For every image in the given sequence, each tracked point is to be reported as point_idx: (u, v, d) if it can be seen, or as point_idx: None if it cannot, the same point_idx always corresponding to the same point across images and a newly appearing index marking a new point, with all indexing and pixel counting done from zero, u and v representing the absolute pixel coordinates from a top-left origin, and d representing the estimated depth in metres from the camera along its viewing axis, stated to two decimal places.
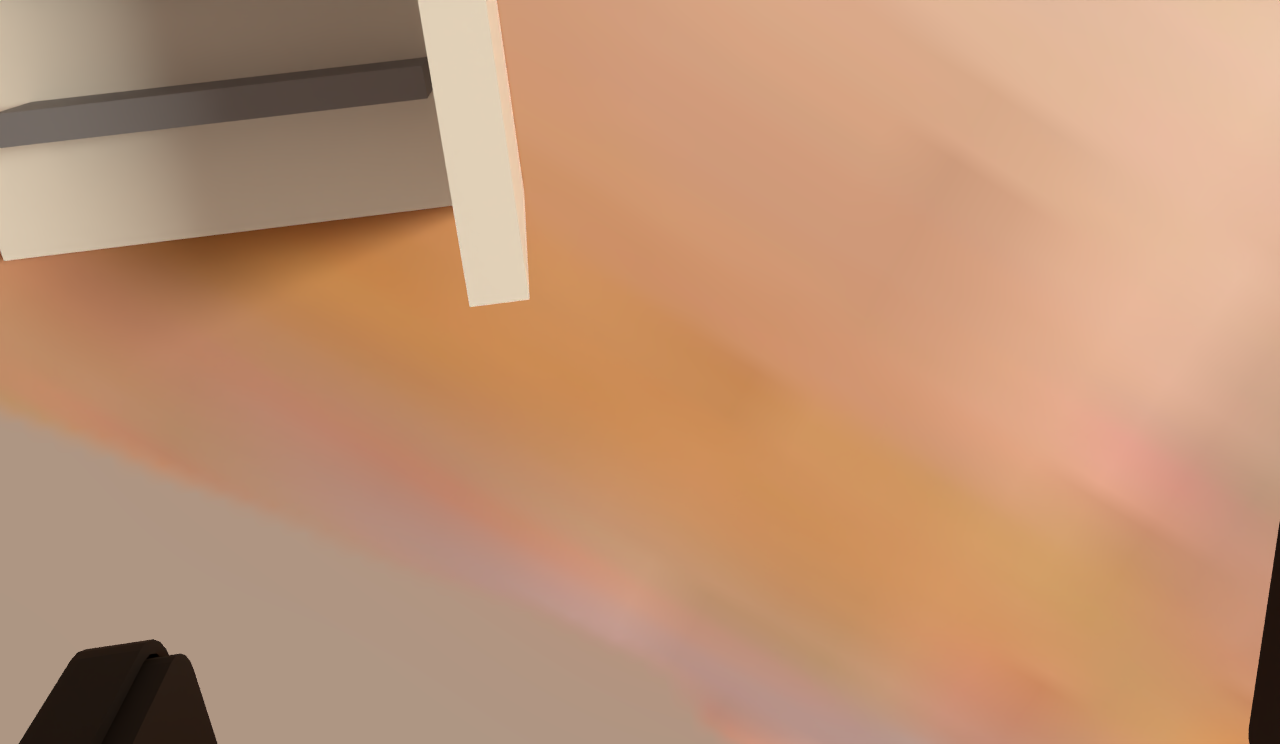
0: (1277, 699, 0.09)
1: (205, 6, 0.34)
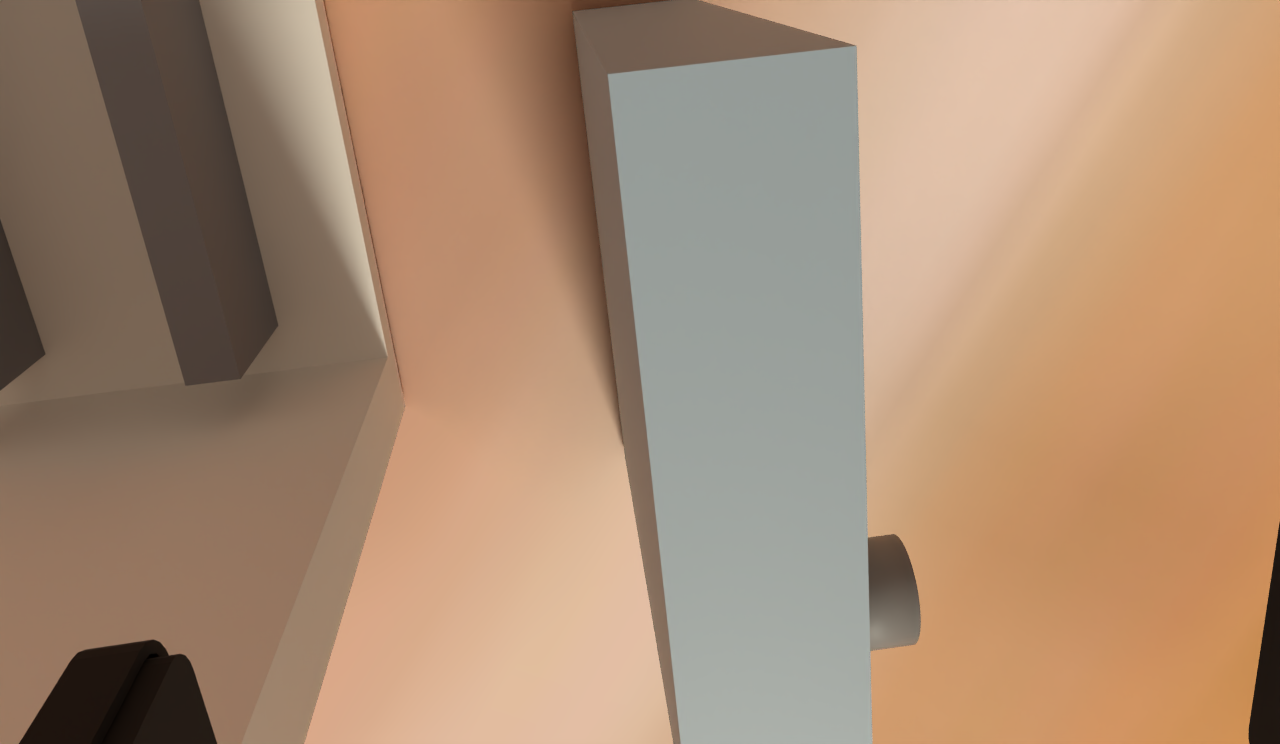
0: (1277, 699, 0.09)
1: None
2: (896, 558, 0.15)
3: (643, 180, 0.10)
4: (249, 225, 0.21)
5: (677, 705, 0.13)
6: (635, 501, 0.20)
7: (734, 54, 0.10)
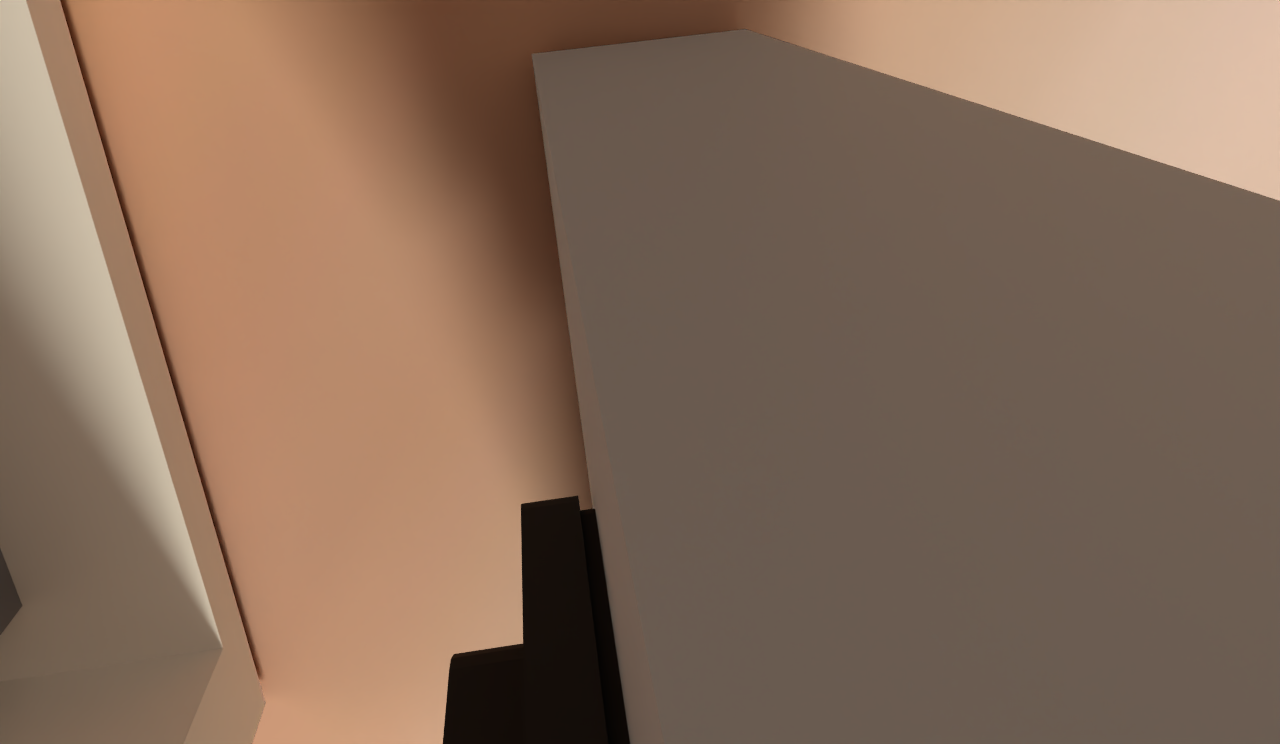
0: None
1: None
2: None
3: None
4: None
5: None
6: None
7: None
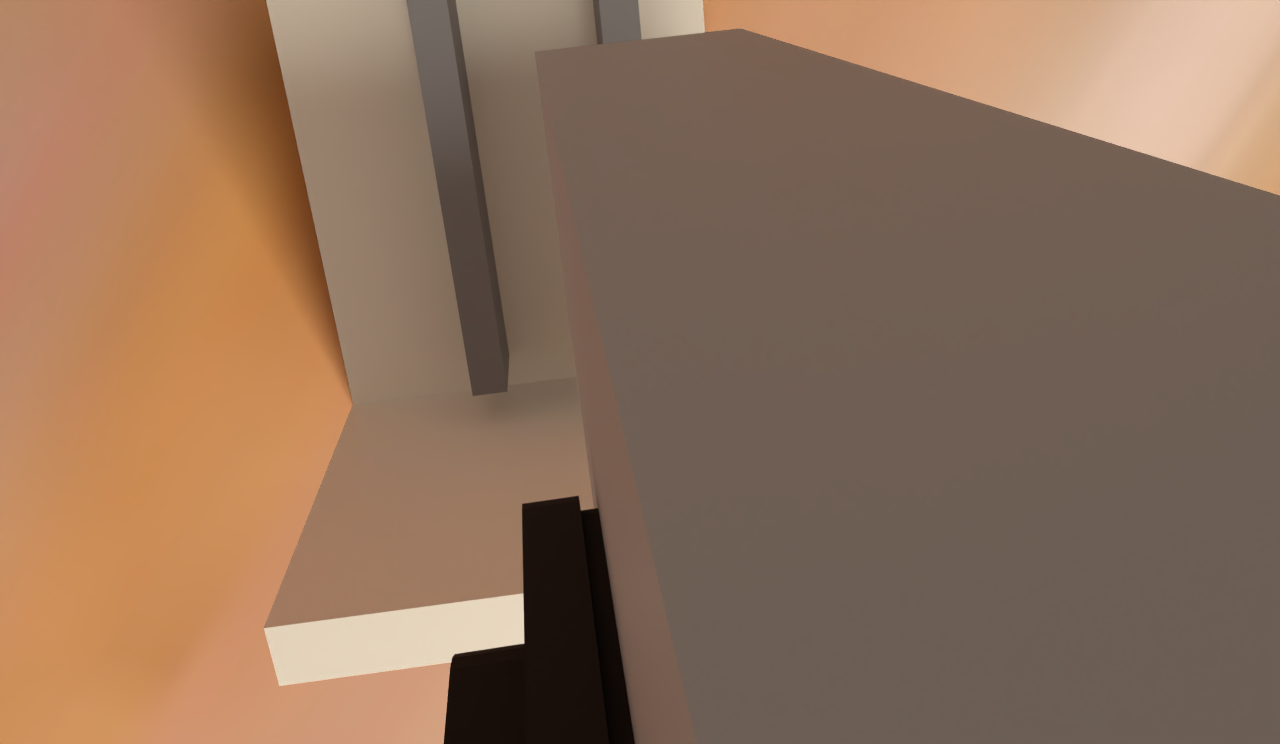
0: None
1: None
2: None
3: None
4: None
5: None
6: None
7: None
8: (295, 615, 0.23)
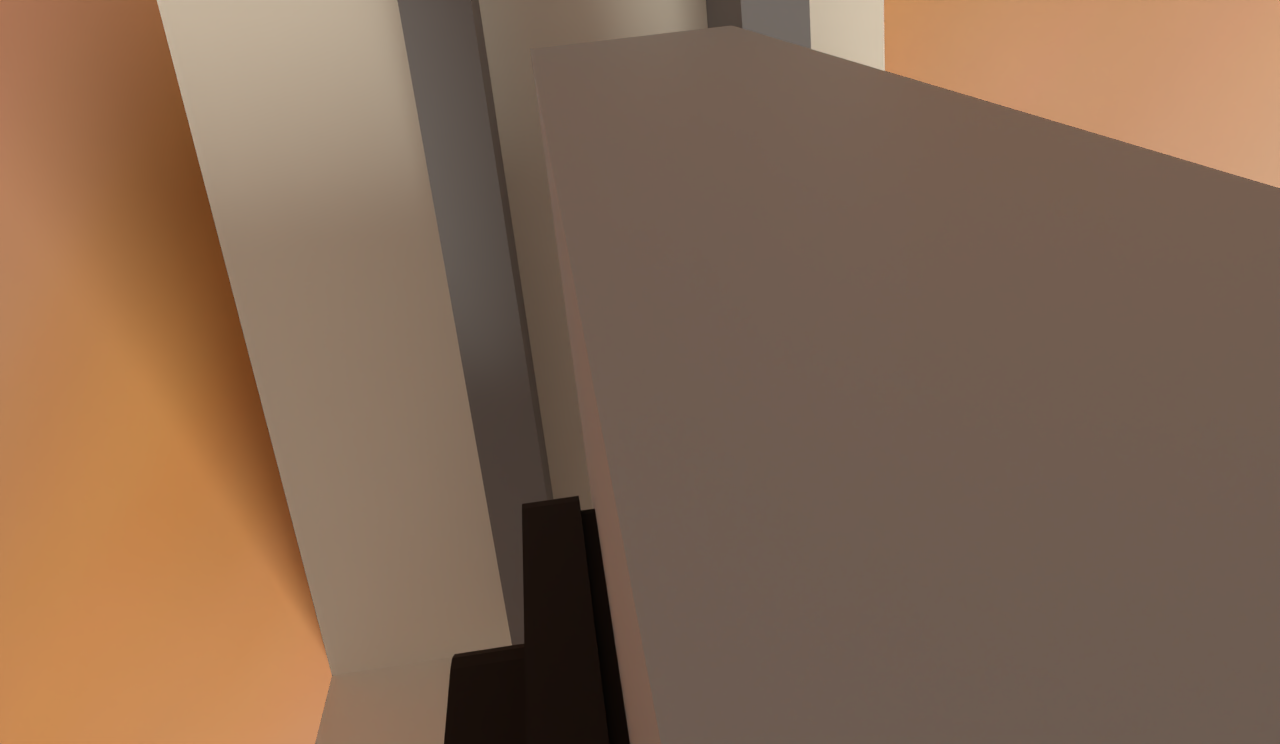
0: None
1: None
2: None
3: None
4: None
5: None
6: None
7: None
8: None
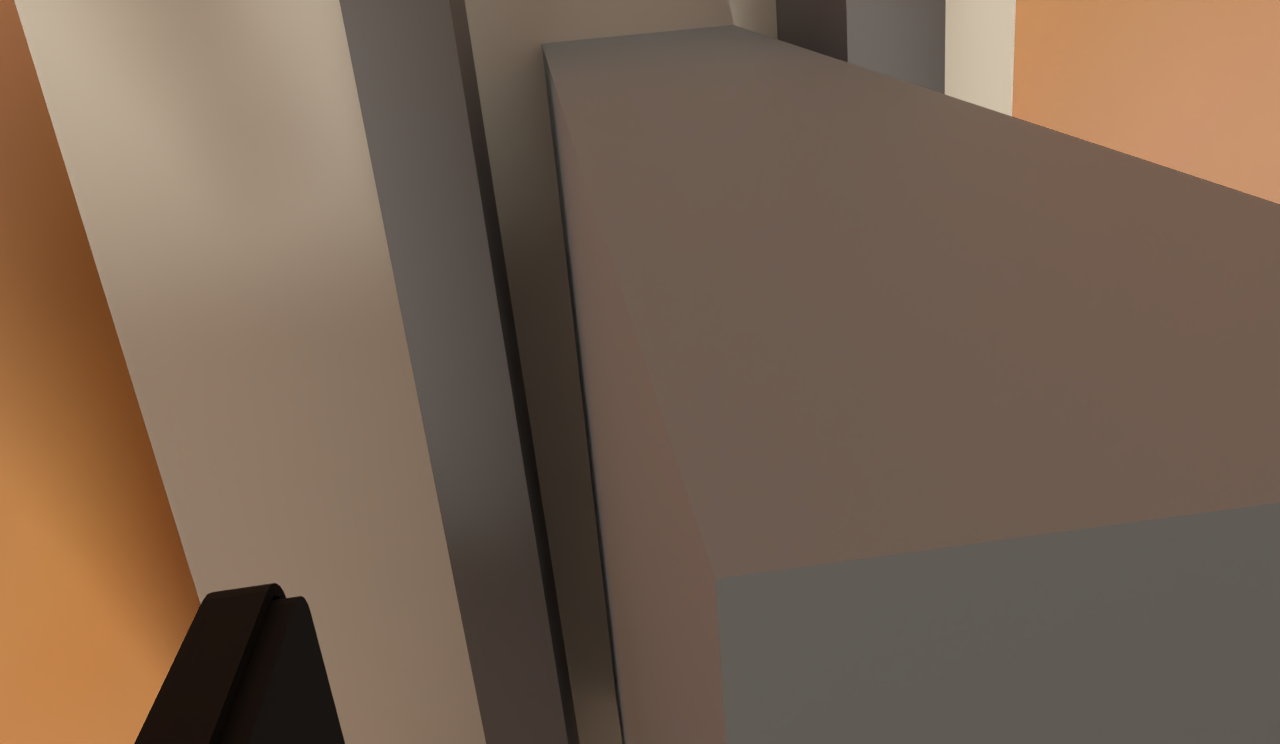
0: None
1: None
2: None
3: None
4: None
5: None
6: None
7: (1232, 388, 0.02)
8: None
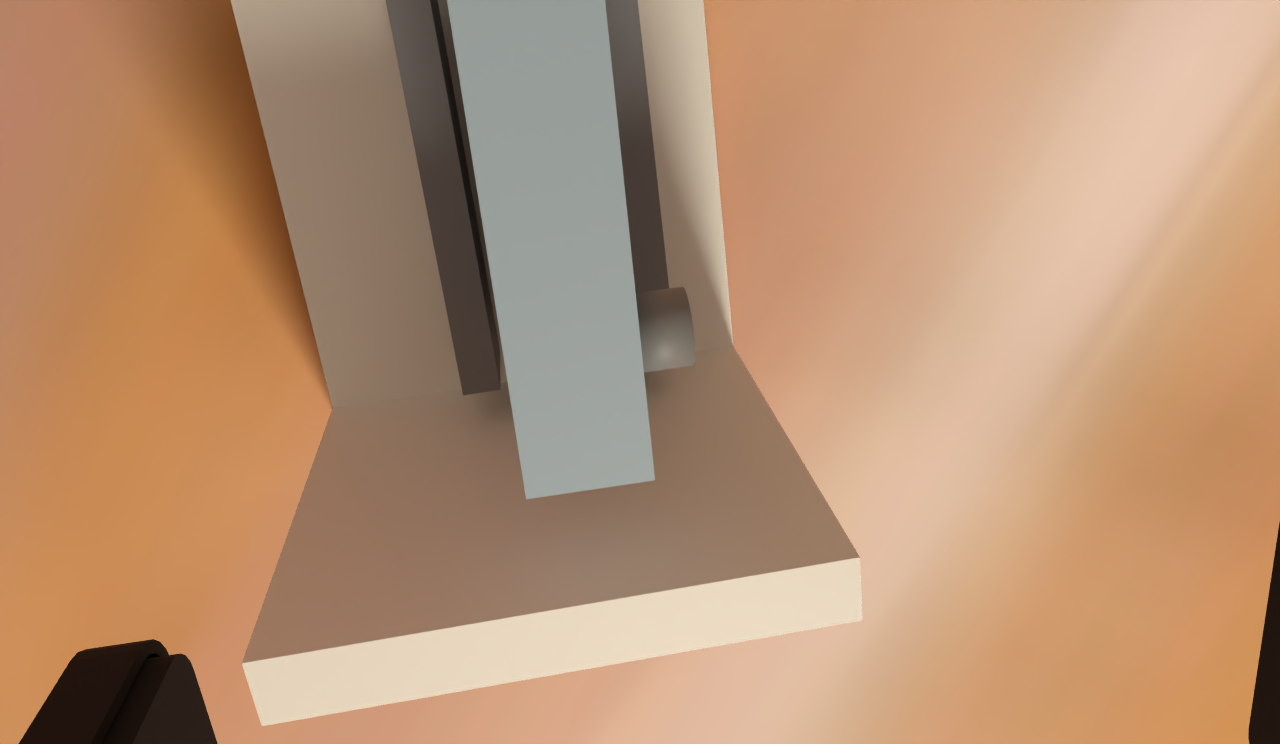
0: (1277, 699, 0.09)
1: None
2: (678, 296, 0.21)
3: None
4: None
5: (506, 371, 0.18)
6: None
7: None
8: (277, 647, 0.20)
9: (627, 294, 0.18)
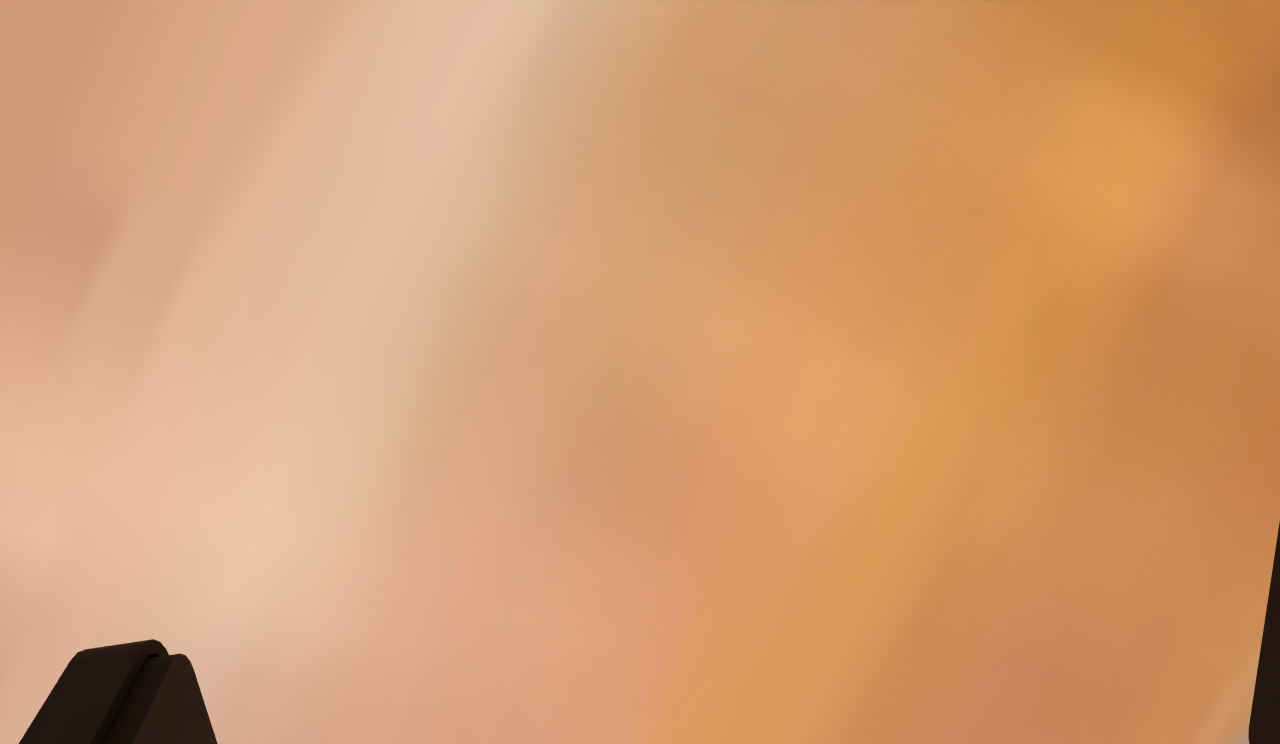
0: (1278, 699, 0.09)
1: None
2: None
3: None
4: None
5: None
6: None
7: None
8: None
9: None
